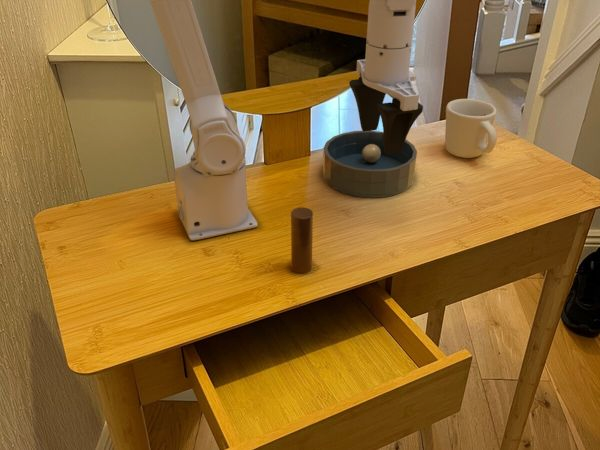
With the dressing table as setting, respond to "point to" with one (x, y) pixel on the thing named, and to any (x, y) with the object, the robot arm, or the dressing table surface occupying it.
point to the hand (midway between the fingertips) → (380, 140)
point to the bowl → (367, 166)
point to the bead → (371, 153)
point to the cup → (470, 127)
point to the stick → (301, 239)
